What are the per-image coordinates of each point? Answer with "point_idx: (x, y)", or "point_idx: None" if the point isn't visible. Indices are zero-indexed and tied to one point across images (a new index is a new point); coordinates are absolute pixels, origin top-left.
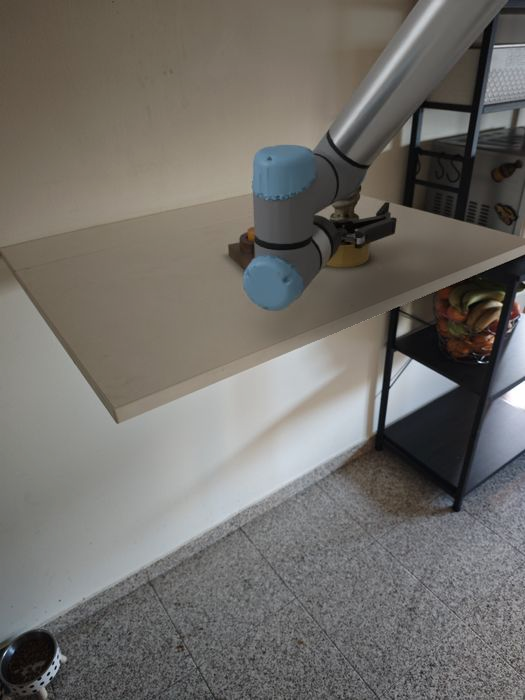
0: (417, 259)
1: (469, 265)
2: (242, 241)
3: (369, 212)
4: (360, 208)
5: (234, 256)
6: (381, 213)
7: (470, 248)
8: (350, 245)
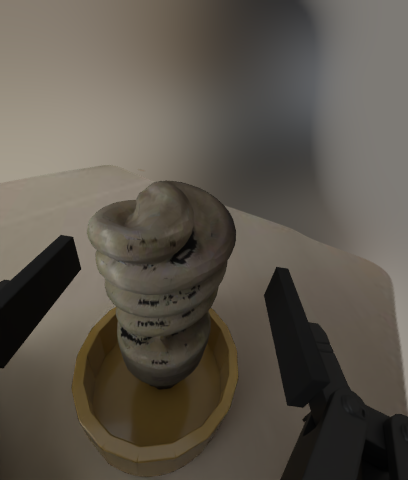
0: None
1: (398, 355)
2: None
3: None
4: None
5: None
6: (323, 368)
7: (350, 290)
8: (197, 437)
